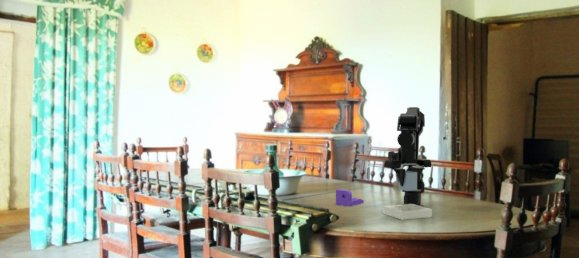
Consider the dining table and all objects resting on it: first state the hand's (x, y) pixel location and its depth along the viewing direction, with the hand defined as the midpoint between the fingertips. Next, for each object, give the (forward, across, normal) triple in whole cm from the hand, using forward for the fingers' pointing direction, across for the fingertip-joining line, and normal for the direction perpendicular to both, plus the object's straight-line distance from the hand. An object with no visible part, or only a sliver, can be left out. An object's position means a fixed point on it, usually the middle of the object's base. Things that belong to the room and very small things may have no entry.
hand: (407, 185), depth 181 cm
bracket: (+12, +9, -29) cm, 33 cm away
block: (+2, 0, 0) cm, 2 cm away
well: (+12, 0, 0) cm, 12 cm away
